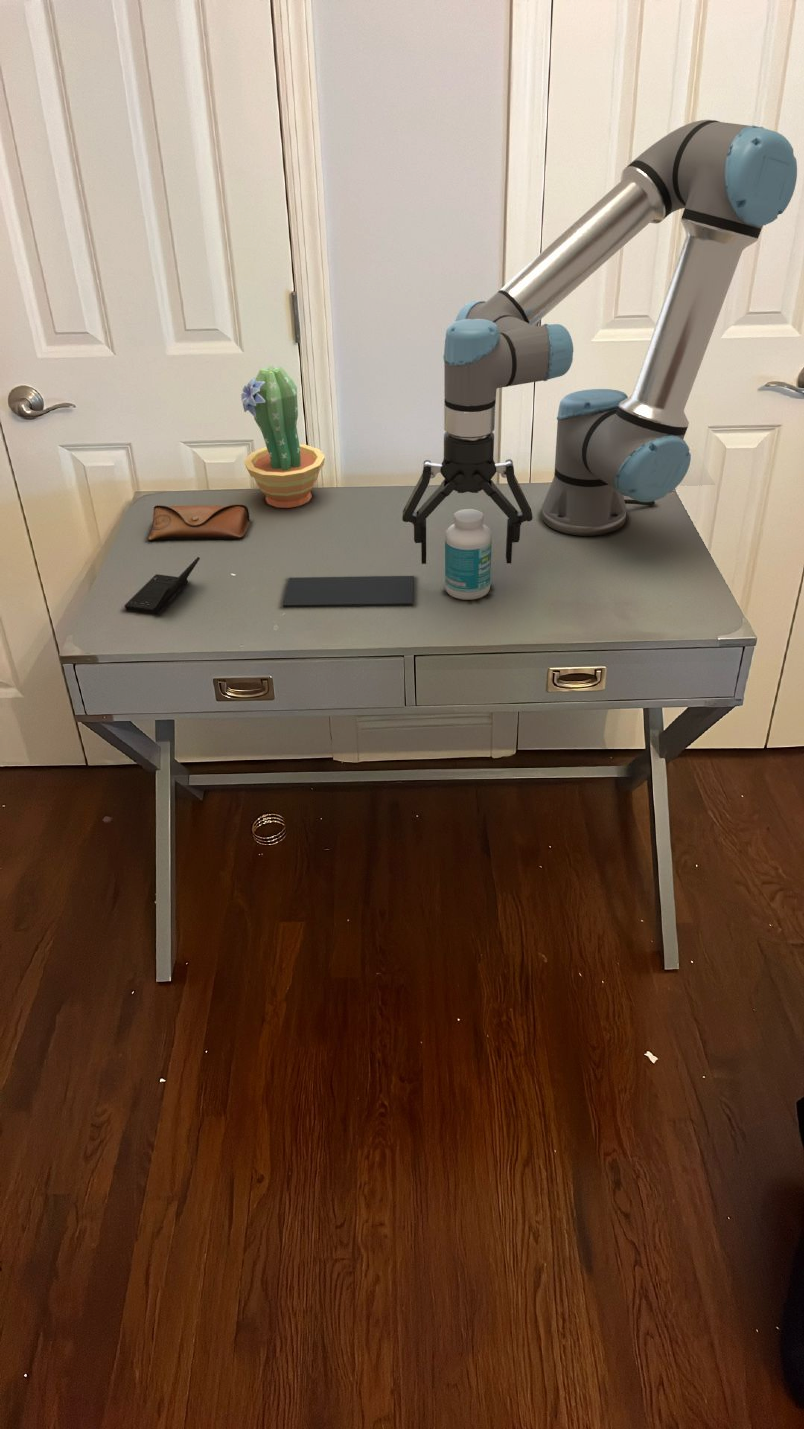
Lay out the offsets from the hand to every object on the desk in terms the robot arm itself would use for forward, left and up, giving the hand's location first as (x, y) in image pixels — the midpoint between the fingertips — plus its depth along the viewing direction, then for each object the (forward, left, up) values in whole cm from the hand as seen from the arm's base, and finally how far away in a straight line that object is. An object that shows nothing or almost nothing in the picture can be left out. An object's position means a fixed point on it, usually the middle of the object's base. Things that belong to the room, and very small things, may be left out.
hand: (466, 560), depth 160 cm
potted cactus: (+34, -37, -6) cm, 50 cm away
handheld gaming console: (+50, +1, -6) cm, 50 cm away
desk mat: (+19, 0, -6) cm, 20 cm away
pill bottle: (0, 0, -6) cm, 6 cm away
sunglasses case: (+49, -23, -6) cm, 54 cm away
